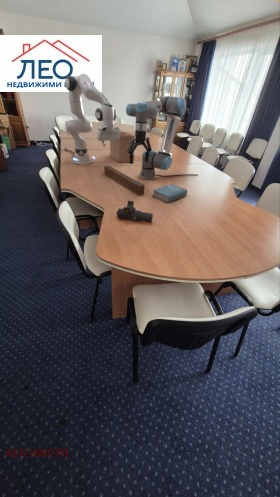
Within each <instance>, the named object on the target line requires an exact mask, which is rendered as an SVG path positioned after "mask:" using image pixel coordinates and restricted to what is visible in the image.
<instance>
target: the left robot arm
mask: <svg viewBox="0 0 280 497" xmlns="http://www.w3.org/2000/svg"><path fill="white" fill-rule="evenodd" d="M64 85H65V88H66V90H67V91H68V102H69V109H70V112H71V115H74V116H75V117H76V118H77V119H70V120H66V122H65V124H64V127H65V128H64V129H65V131H66V132H67V133H68V134H70V135H71V136H72V139H73V142H74V151H73V150H70V149H69V150H68V149H67V148H66V147H64V151H65V152H66V151H67V152H71V153H73V154H72V160H73V161H72V164H75V165H79V166H80V165H81V166H83V165H84V166H85V165H89V164H92V161H91V159H90V154H89V153H88V147H87V140H86V138H84V137H83V136H81V134H87V133H90V132H92V131H93V124H92V122H91V121H90V120H89V119H88V118H87V116H86V115H85V111H84V106H83V99H82V94H83V96H84V98H86V99H87V100H89V101H93V102H96V103H98V104H100V105H101V106H100V107H97V108H96V109H95V111H94V116H95V119H96V120H97V121H98V122H102V124H101V125H100V126H97V132H96V139H97V140H98V142H101V143H102V147H106V144H105V142H107V141H110V140H114V143H113V146H115V143H116V140H119V139H120V130H121V129H120V128H119V127H115V121H116V120H117V117H118V113H117V110H116V109H115V107H114V106H113V104H111V103H110V102H109V101H108V99H107V98H106V96H105V95H104V94H103V93H102V92H101V91H99V89H97V88H98V87H96V86H95V84H94V83H93V81H92V79H91V78H90V77H89V75H88V74H86V73H81V74H79V75H77V76H76V75H68V76H66V78H65V79H64ZM92 158H93V159H95V157H94V156H92Z"/></svg>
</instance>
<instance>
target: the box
mask: <svg viewBox="0 0 280 497" xmlns="http://www.w3.org/2000/svg"><path fill="white" fill-rule="evenodd" d="M131 138H133V139H135V131H133V130H128V131H127V130H126V131H124V130H122V129H120V139H119V140H116V143H115V146H113V143H114V140H109V157H110V158H112V159H114V160H115V161H116V162H118V163H125V162H126V163H128V162H130V159H129V153H127V150H128V148H129V145H130V143H131ZM134 143H135V142H134ZM132 154H133V162H134V161H135V151H134V152H133V153H132Z"/></svg>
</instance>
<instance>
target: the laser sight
mask: <svg viewBox="0 0 280 497" xmlns="http://www.w3.org/2000/svg"><path fill="white" fill-rule="evenodd" d="M126 204H127V205H126V206H124V207H122V208H121V207H119V208H118V209H117V210H116V217H117V218H118V219H121V220H126V221H131V222H145V223H152V222H153V218H154V213H151V212H144V211H141V210H139V209H136V207H134V204H135V202H134V201H133V200H127V203H126Z"/></svg>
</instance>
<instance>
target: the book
mask: <svg viewBox="0 0 280 497" xmlns="http://www.w3.org/2000/svg"><path fill="white" fill-rule="evenodd" d="M187 195H188V189H186V188H184V187H181V186H178V185H176V184H174V183H170V184H167V185H163V186H161V187H158V188H155V189H152V197H153V198H155V199H158V200H160V201H162V202H165V203H167V204H168V203H171V202H173V201H176V200H178V199H181V198H183V197H186V196H187Z"/></svg>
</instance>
